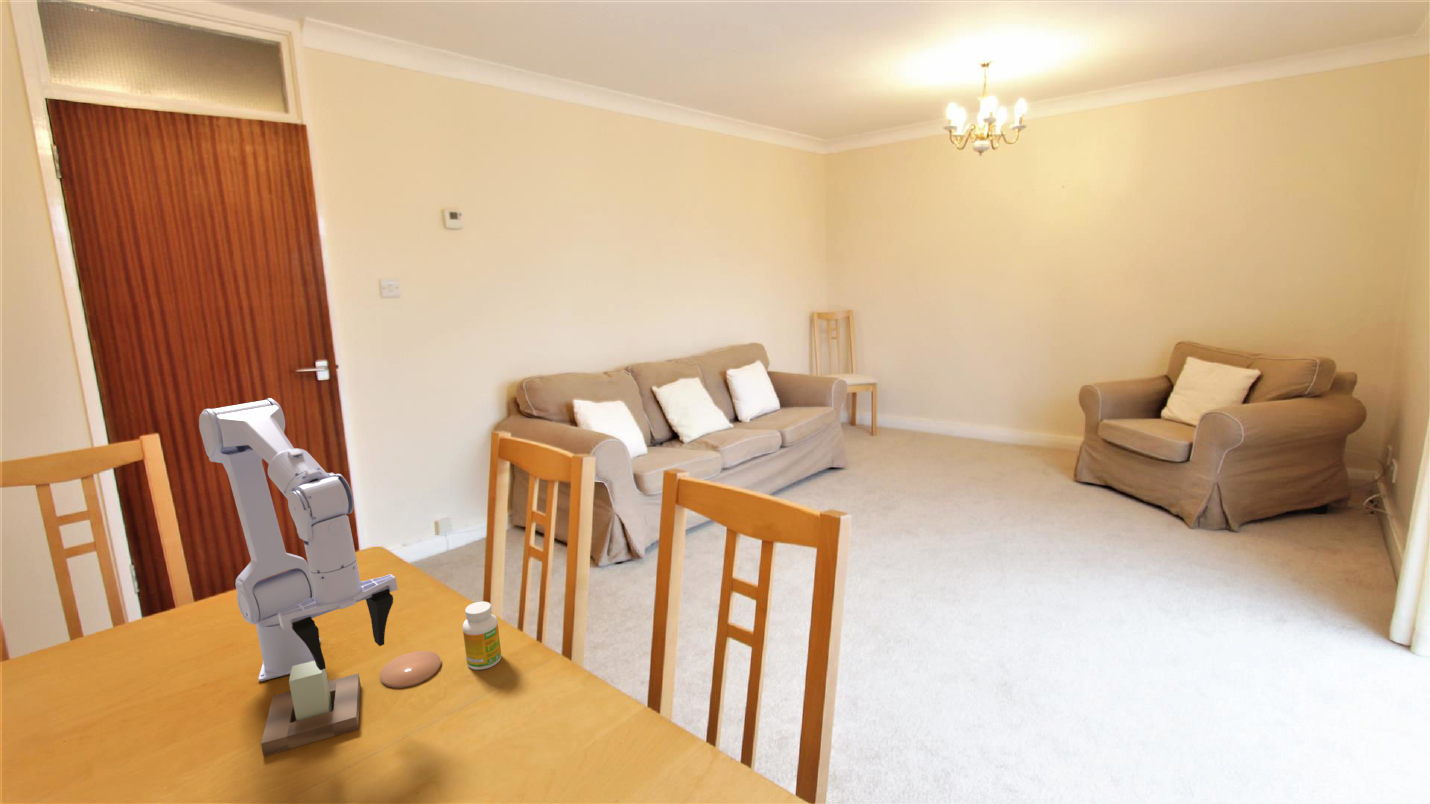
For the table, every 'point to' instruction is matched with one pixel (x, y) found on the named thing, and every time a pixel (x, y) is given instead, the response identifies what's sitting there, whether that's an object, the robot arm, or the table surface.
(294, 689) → the peg
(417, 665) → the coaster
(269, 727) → the block
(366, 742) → the table surface
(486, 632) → the supplement bottle
